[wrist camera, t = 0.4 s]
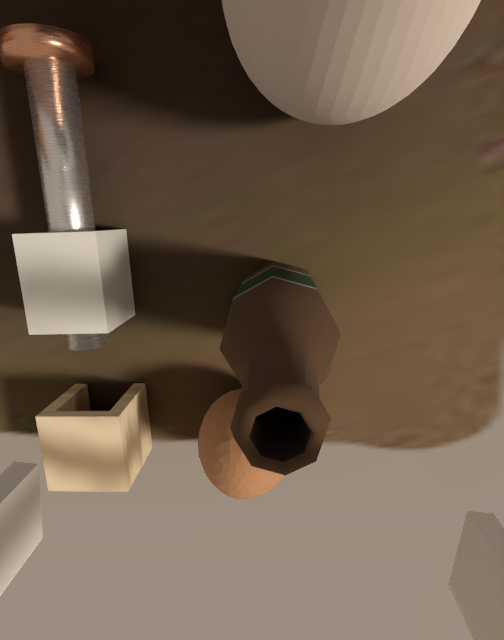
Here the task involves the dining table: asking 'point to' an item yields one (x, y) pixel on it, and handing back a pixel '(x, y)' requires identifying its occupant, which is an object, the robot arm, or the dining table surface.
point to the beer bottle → (279, 367)
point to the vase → (342, 51)
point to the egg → (229, 454)
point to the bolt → (57, 127)
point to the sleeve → (75, 281)
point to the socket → (94, 441)
